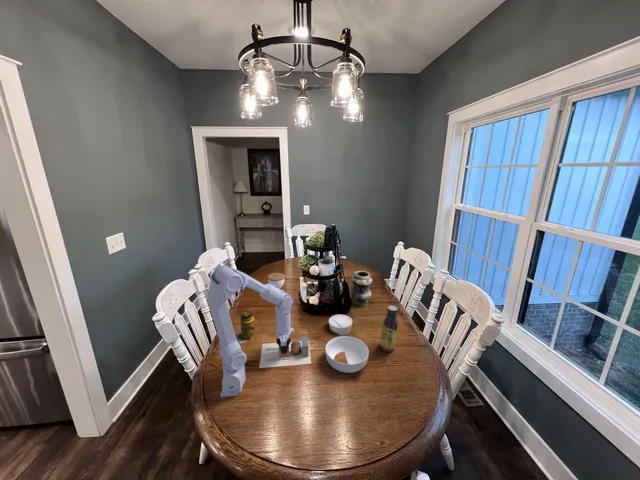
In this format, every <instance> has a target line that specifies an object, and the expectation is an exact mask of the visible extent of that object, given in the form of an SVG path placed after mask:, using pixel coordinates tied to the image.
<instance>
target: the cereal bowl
mask: <svg viewBox="0 0 640 480" xmlns="http://www.w3.org/2000/svg"><path fill="white" fill-rule="evenodd" d="M324 350H325V357H326V361H327V362H328V364H329V365H330V366H331V367H332V368H333V369H334V370H336V371H338V372H342V373H344V374H346V373H348V374H351V373H352V374H353V373H356V372H359V371H361V370H362V369H363V368H364V367H365V366H366V365H367V363H368V359H369V353H370V352H369V348H368V346H367V345H366V343H364V342H363V341H362V340H360V339H359V338H356V337H353V336H347V335H344V336H336V337H334V338H332V339H330V340H329V341H328V342H327V343H326V345H325V348H324ZM340 353H344V355H345V358H346V361H347V362H346V363H343V362H339V361H337V360H335V356H336V355H338V354H340Z"/></svg>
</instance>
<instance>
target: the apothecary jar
mask: <svg viewBox="0 0 640 480" xmlns="http://www.w3.org/2000/svg"><path fill="white" fill-rule="evenodd" d="M350 281H351V282H352V283H353V284H352V288H351V290H350V292H349V293H350V296H351V297H352V300H351V303H352V304H353V305H354V306H358V307H366V306H368V305H369V303H370V302H369V299H370V298H371V297H372V291H371V290H370V287H371V285H372V283H373V278H372V277H371V275H370V273H369V272H368V271H365V270H357V271H355V272H354V275H352V276H351V280H350Z"/></svg>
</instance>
